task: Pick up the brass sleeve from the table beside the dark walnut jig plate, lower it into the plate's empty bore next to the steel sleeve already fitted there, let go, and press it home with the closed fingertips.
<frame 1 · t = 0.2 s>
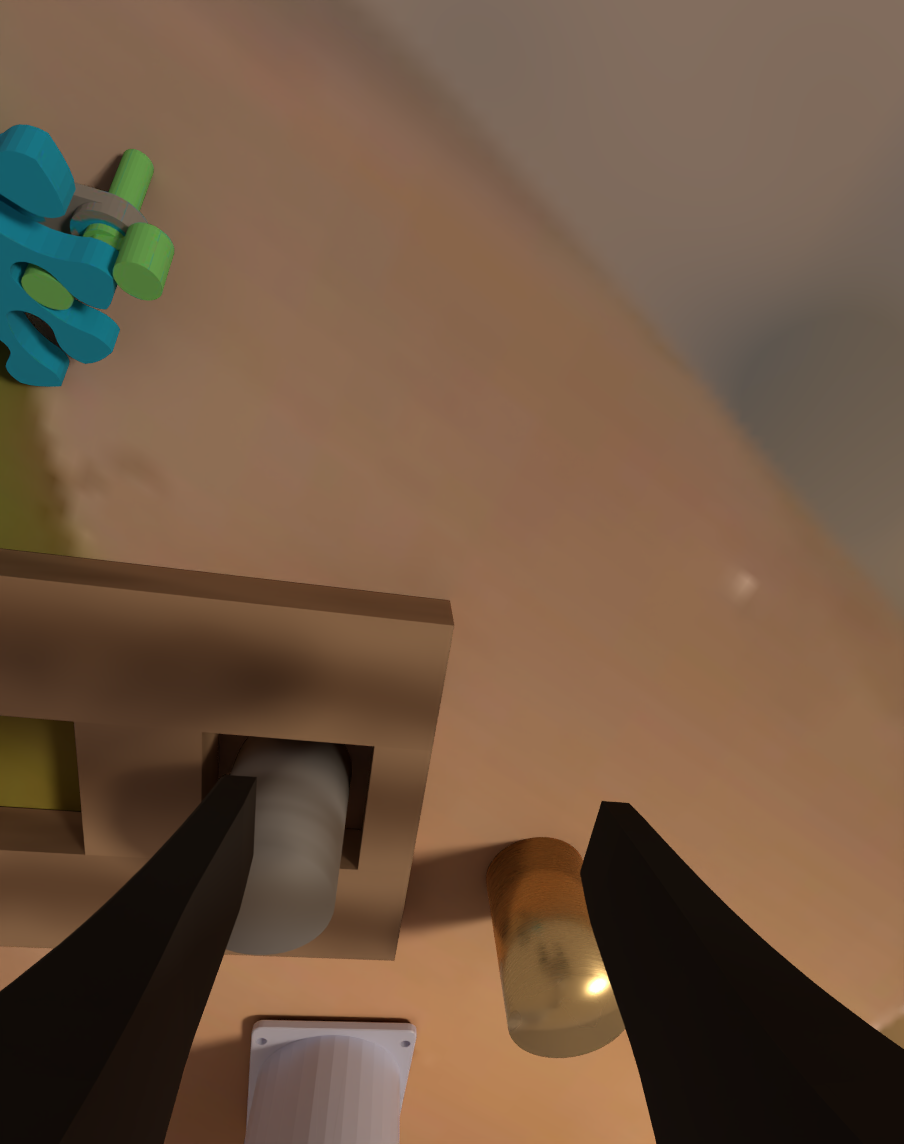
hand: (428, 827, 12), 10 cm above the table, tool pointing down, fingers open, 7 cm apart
walnut jig: (163, 758, 22), on the table
brass sleeve: (535, 875, 26), on the table
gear: (8, 246, 16), on the table
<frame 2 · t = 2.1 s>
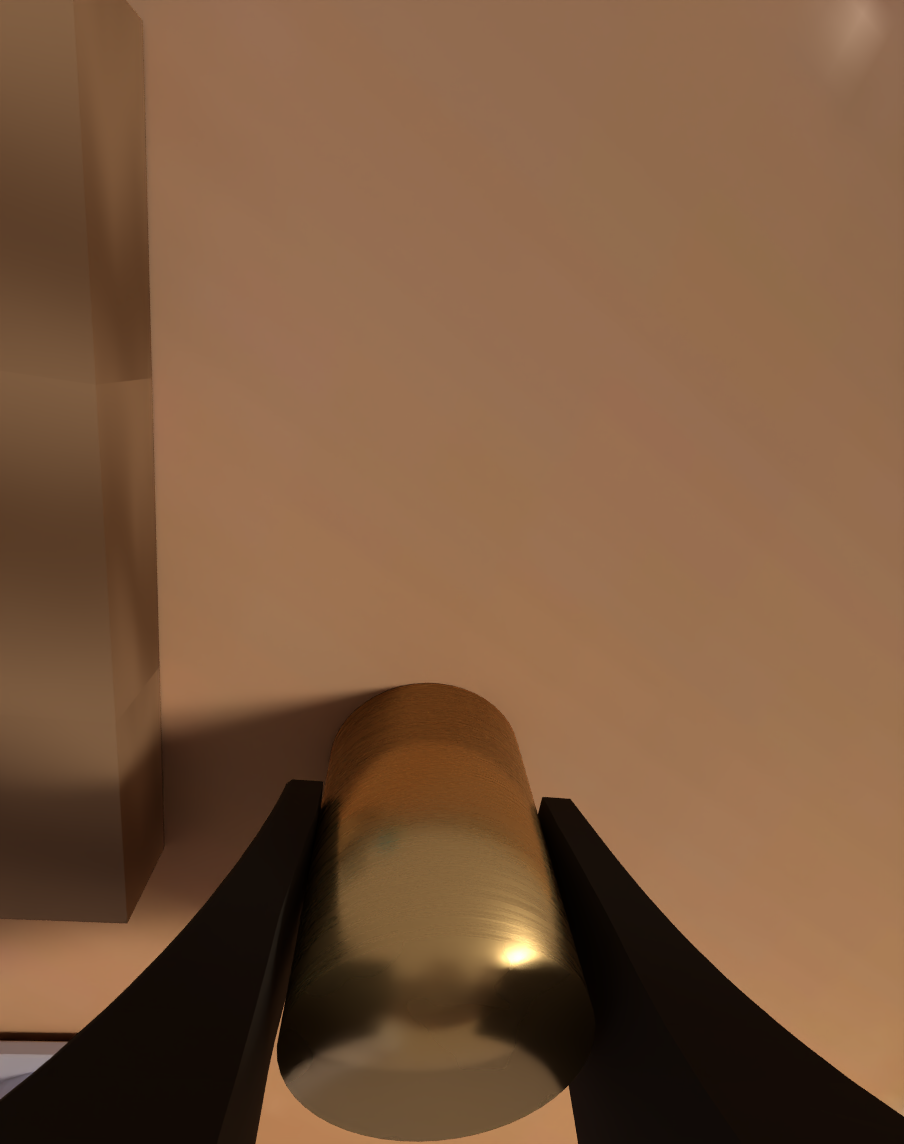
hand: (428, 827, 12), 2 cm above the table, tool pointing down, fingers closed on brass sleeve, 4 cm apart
brass sleeve: (425, 764, 14), on the table, touching gripper
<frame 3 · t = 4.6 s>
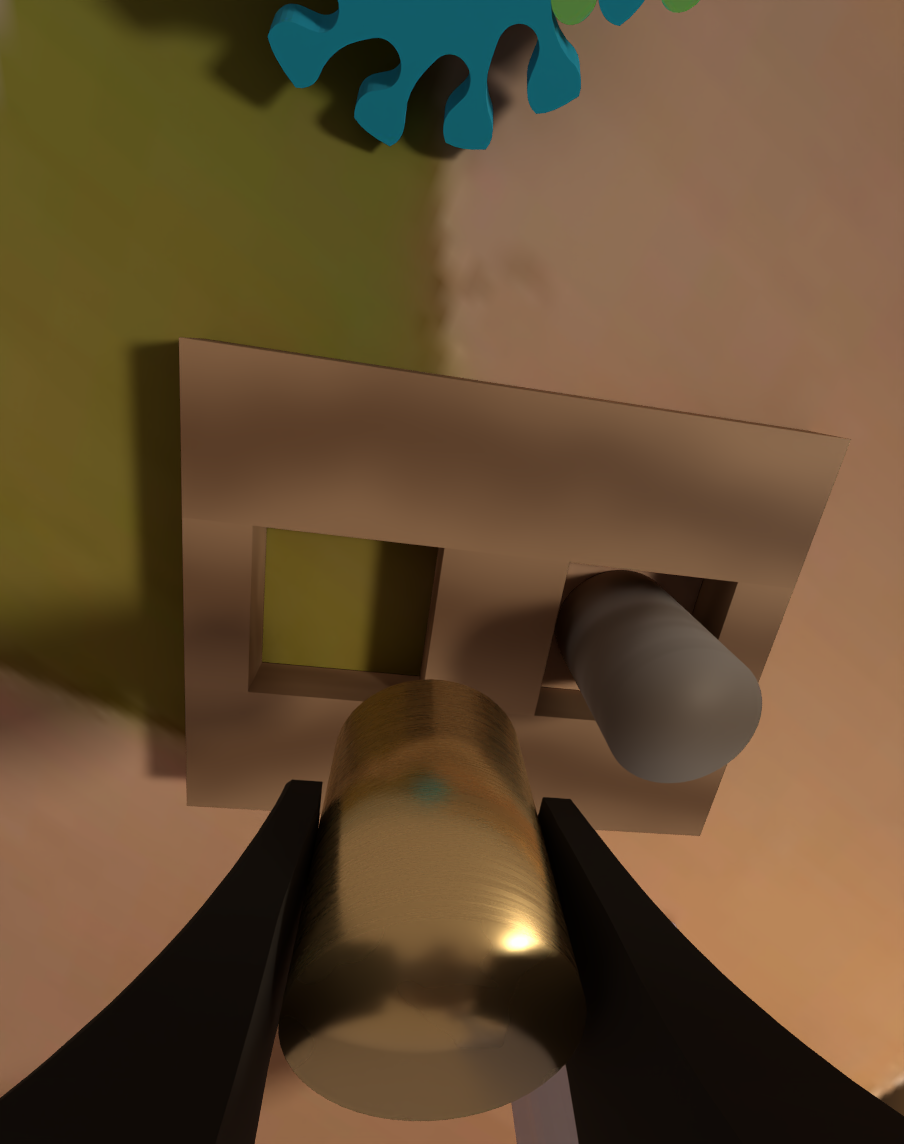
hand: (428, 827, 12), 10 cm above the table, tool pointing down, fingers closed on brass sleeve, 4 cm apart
walnut jig: (484, 612, 21), on the table
brass sleeve: (427, 759, 14), point 8 cm above the table, touching gripper
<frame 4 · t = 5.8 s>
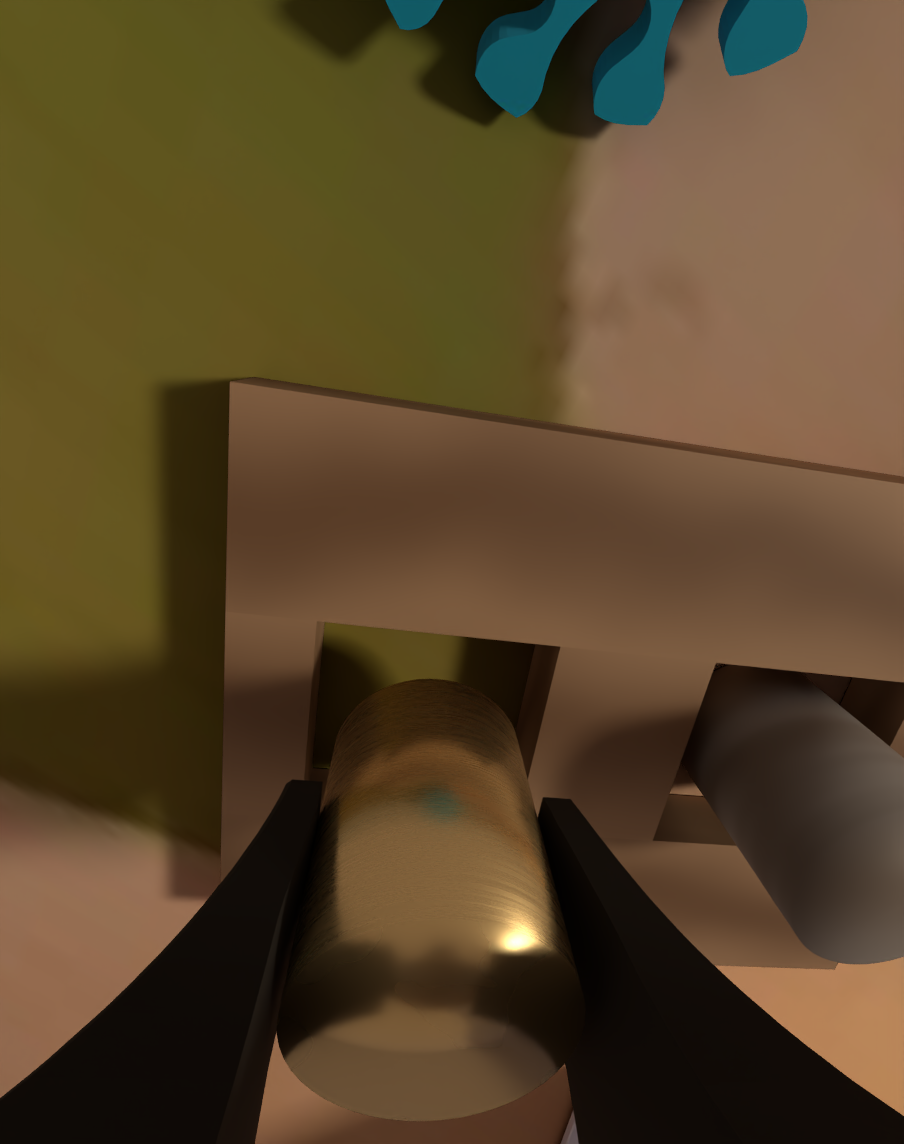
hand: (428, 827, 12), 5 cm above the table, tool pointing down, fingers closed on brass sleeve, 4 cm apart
walnut jig: (588, 708, 17), on the table
brass sleeve: (426, 759, 14), point 3 cm above the table, touching gripper
when the fingers open (3 cm above the table, at t = 7.1 s): brass sleeve stays where it is, resting in walnut jig.
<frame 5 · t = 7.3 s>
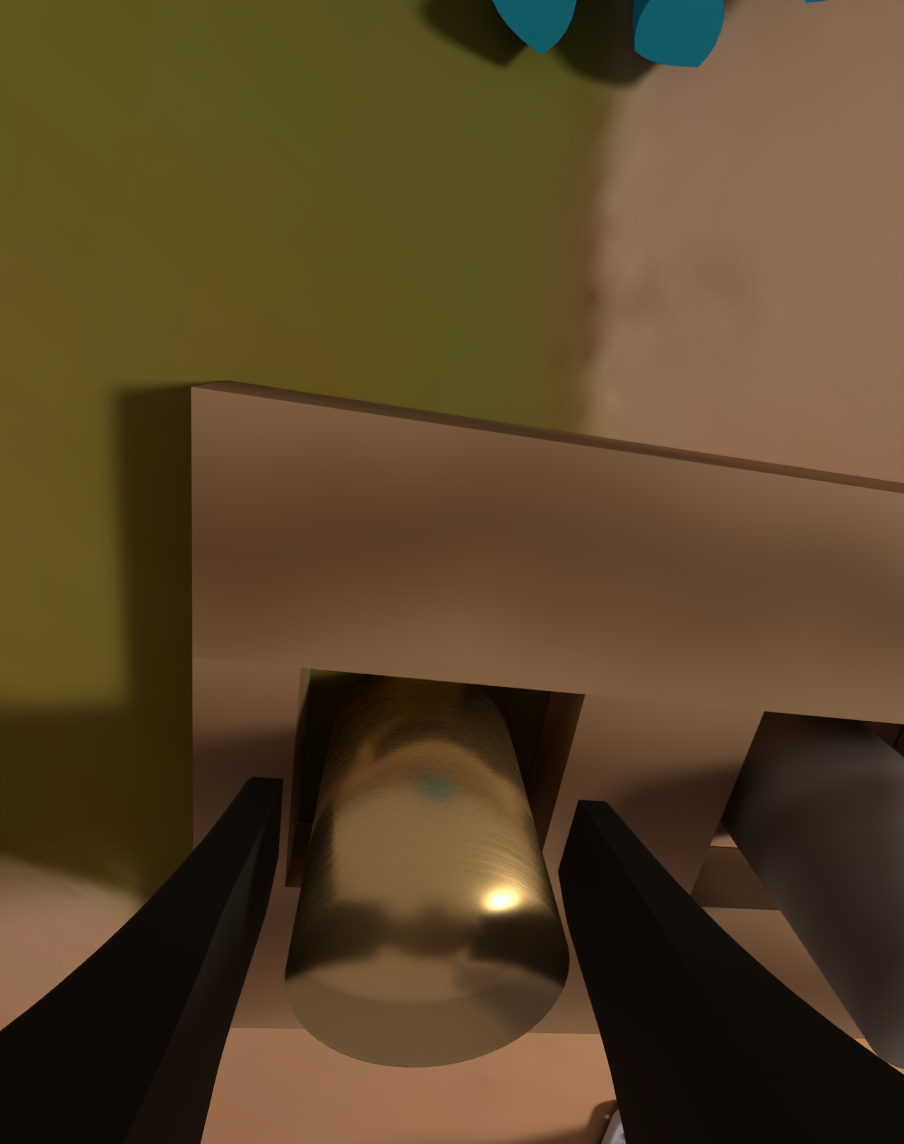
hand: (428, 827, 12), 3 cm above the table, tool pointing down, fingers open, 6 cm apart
walnut jig: (611, 754, 15), on the table
brass sleeve: (419, 739, 15), resting in walnut jig
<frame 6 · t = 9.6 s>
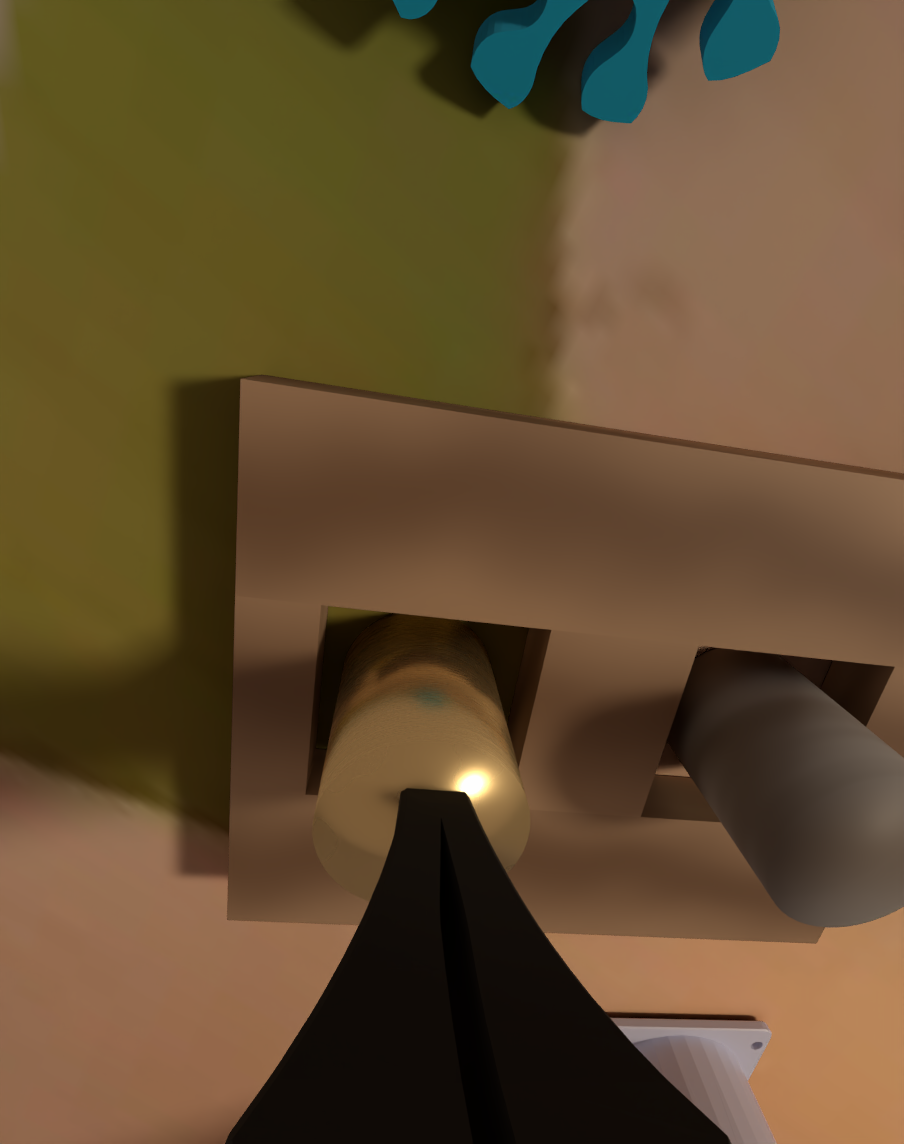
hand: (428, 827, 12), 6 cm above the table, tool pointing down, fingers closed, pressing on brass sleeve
walnut jig: (579, 691, 18), on the table
brass sleeve: (417, 677, 18), resting in walnut jig, touching gripper
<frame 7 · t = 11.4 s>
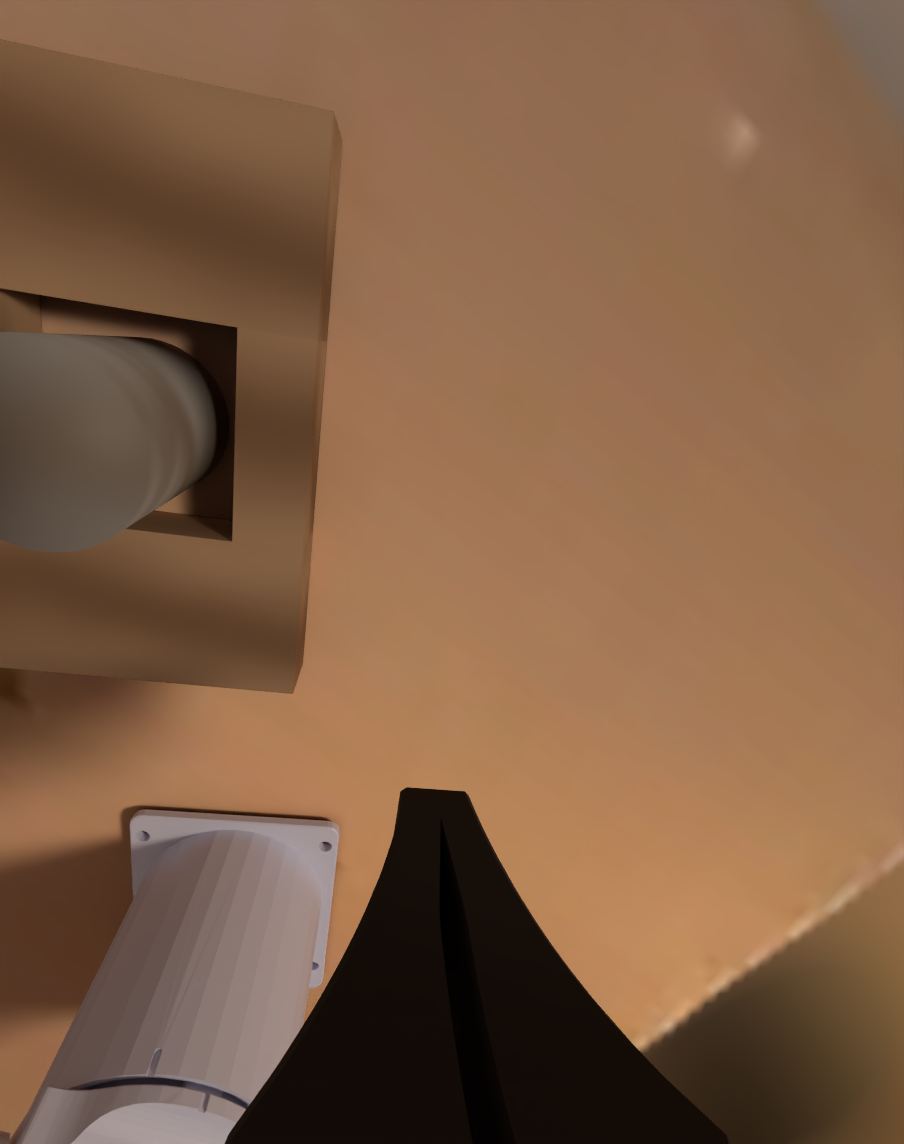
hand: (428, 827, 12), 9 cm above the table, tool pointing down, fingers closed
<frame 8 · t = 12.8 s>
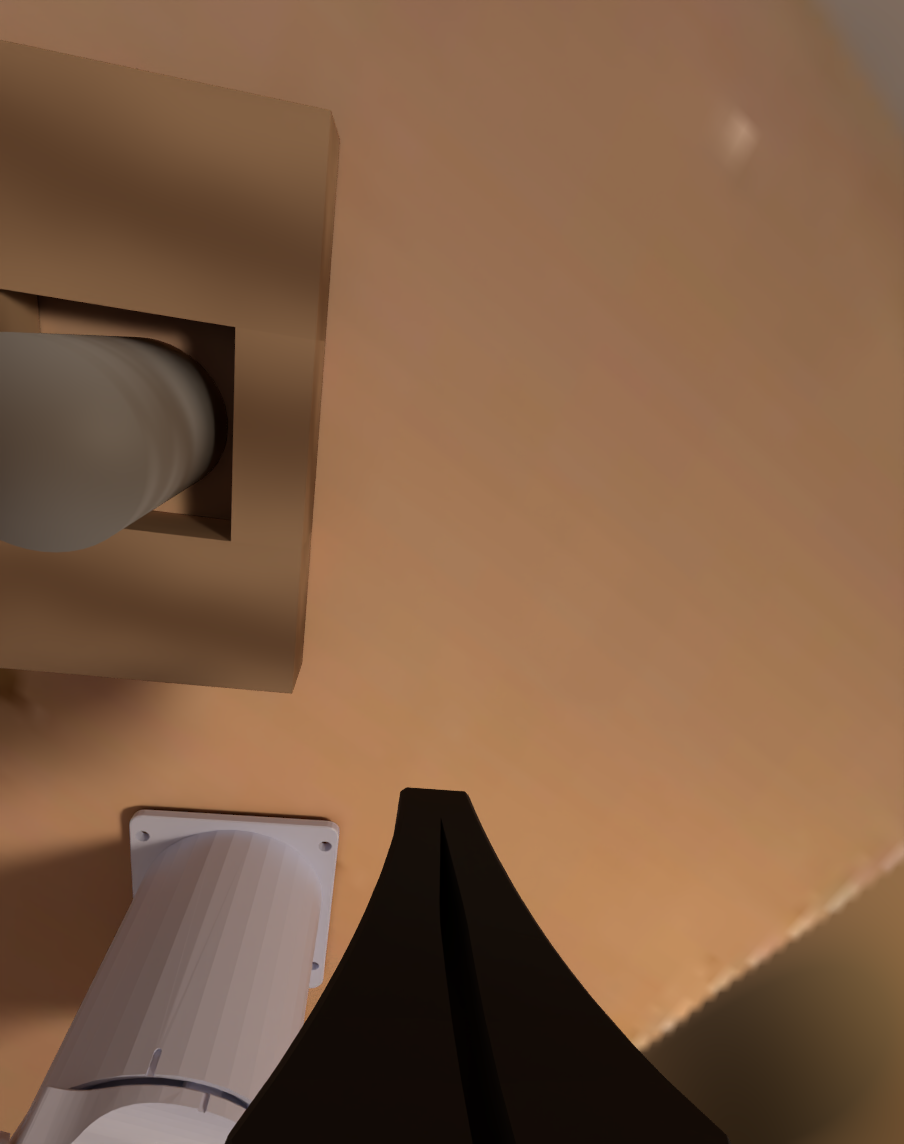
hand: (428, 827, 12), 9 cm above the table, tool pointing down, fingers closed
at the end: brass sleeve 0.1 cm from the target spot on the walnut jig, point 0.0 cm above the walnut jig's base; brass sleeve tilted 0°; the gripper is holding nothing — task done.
